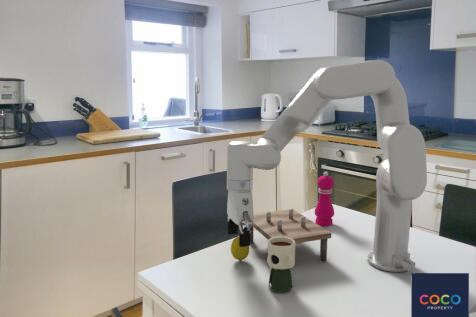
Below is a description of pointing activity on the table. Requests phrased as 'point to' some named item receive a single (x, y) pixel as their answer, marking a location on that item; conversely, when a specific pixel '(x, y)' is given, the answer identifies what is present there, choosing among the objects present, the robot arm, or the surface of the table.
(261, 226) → the peg shelf
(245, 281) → the table surface
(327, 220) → the pepper mill
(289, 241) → the character mug
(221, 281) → the table surface
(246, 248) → the lemon
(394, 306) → the table surface
